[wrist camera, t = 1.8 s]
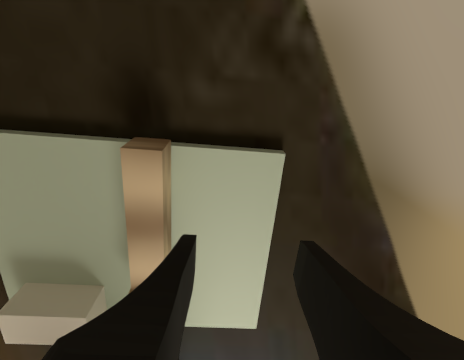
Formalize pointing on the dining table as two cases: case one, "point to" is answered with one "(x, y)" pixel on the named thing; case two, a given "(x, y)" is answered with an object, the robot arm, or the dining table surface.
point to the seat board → (114, 221)
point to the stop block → (49, 311)
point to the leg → (146, 204)
